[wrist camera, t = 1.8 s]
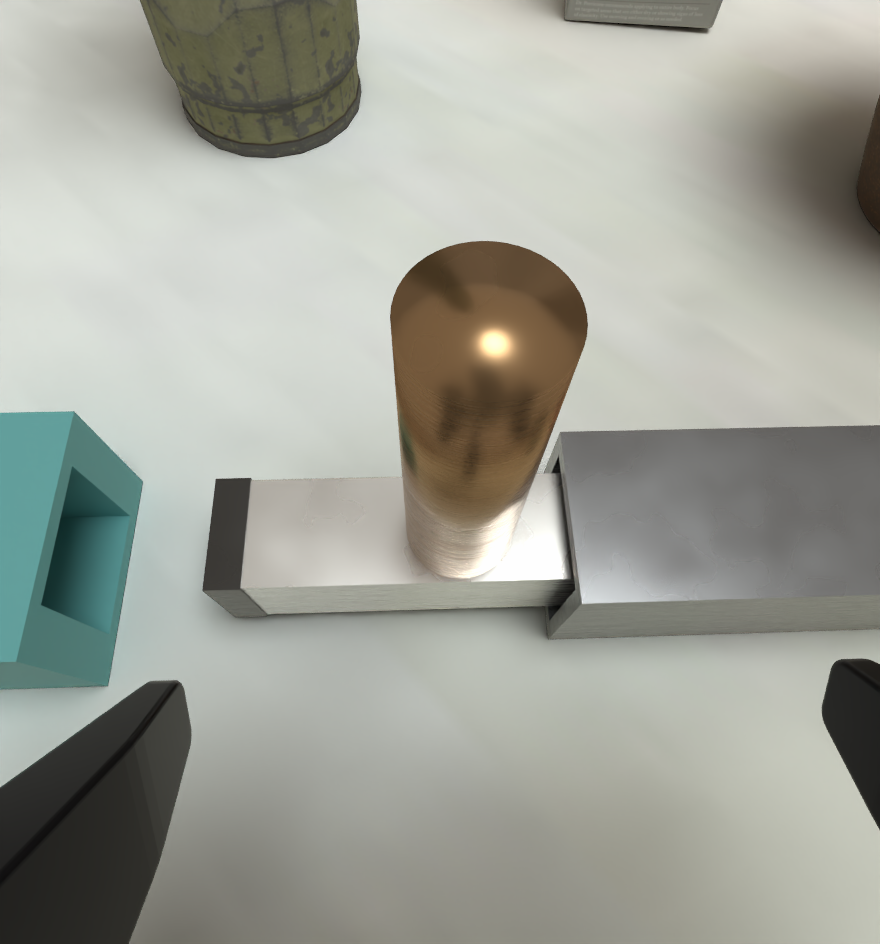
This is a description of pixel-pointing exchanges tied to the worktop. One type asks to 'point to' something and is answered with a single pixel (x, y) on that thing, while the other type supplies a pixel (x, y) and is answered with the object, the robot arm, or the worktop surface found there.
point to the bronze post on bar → (430, 461)
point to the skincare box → (645, 12)
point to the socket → (61, 550)
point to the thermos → (261, 69)
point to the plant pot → (871, 173)
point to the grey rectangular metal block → (720, 531)
